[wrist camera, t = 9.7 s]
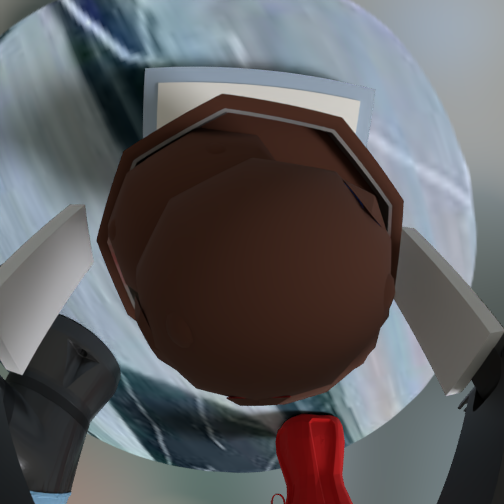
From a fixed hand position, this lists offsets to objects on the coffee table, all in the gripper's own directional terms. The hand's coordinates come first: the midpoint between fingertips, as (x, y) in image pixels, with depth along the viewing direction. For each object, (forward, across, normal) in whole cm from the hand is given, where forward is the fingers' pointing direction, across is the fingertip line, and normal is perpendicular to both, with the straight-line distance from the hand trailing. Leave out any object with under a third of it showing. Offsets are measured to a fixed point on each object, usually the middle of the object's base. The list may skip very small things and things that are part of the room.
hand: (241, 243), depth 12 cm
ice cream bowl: (+8, +1, 0) cm, 8 cm away
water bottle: (+12, +12, -37) cm, 40 cm away
